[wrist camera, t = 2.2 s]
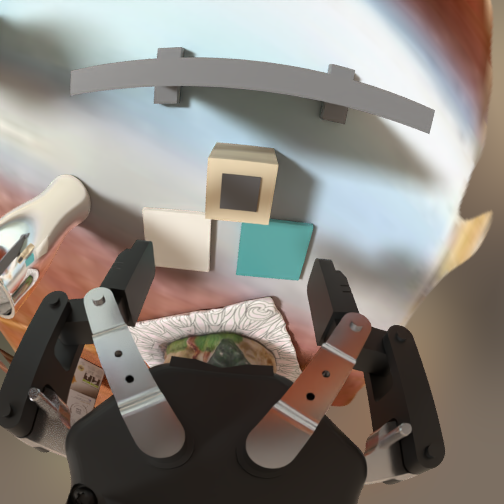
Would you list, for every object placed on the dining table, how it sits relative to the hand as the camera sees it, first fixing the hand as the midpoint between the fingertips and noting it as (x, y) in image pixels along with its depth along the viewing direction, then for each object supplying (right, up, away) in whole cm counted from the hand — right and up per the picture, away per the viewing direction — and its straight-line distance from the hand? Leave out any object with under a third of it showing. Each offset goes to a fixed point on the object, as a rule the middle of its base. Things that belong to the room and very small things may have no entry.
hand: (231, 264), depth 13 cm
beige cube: (0, +8, +11) cm, 14 cm away
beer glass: (-19, +7, +12) cm, 24 cm away
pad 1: (-7, +2, +15) cm, 17 cm away
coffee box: (-34, -25, +35) cm, 54 cm away
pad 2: (+3, +1, +16) cm, 16 cm away
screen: (+1, +15, +6) cm, 16 cm away
